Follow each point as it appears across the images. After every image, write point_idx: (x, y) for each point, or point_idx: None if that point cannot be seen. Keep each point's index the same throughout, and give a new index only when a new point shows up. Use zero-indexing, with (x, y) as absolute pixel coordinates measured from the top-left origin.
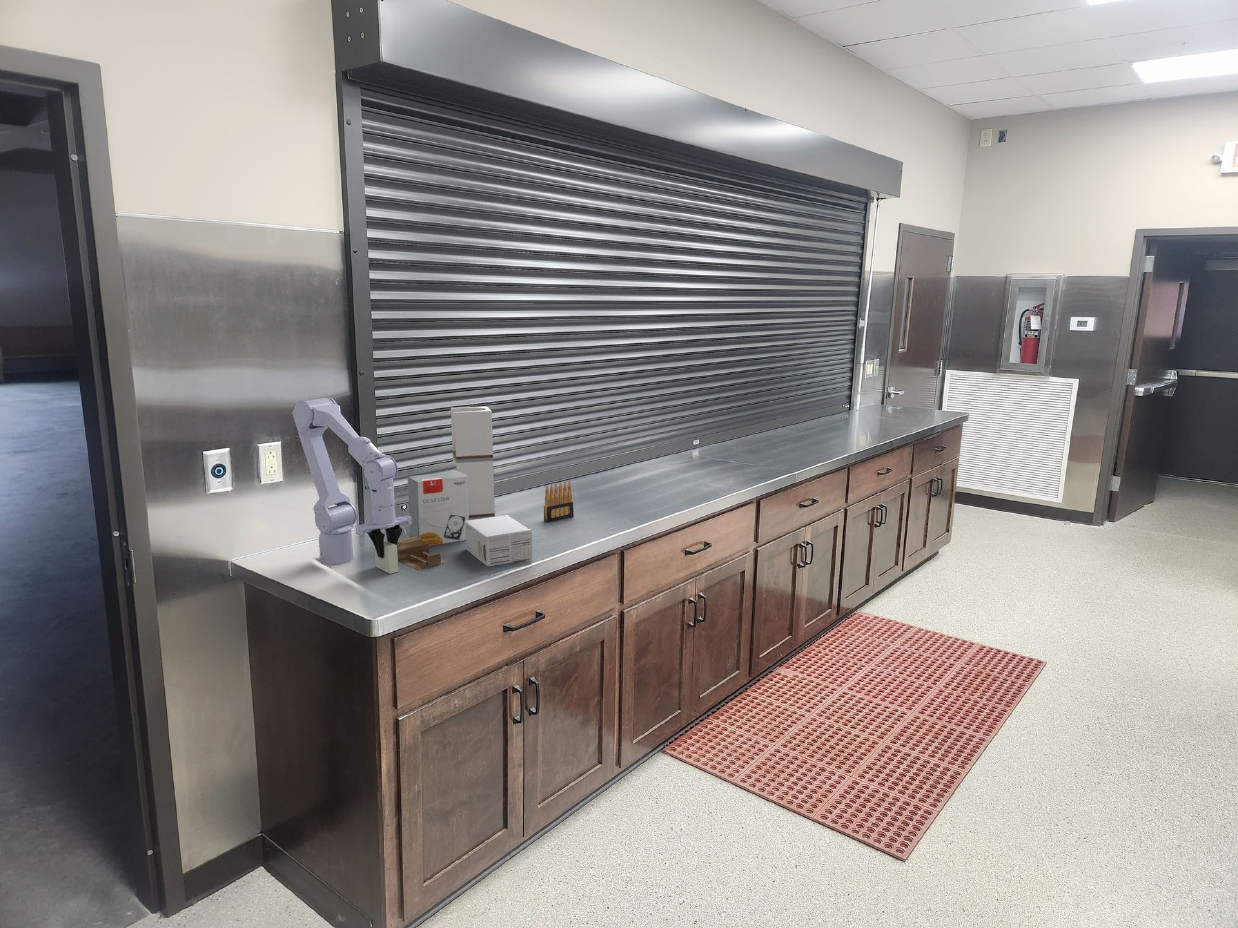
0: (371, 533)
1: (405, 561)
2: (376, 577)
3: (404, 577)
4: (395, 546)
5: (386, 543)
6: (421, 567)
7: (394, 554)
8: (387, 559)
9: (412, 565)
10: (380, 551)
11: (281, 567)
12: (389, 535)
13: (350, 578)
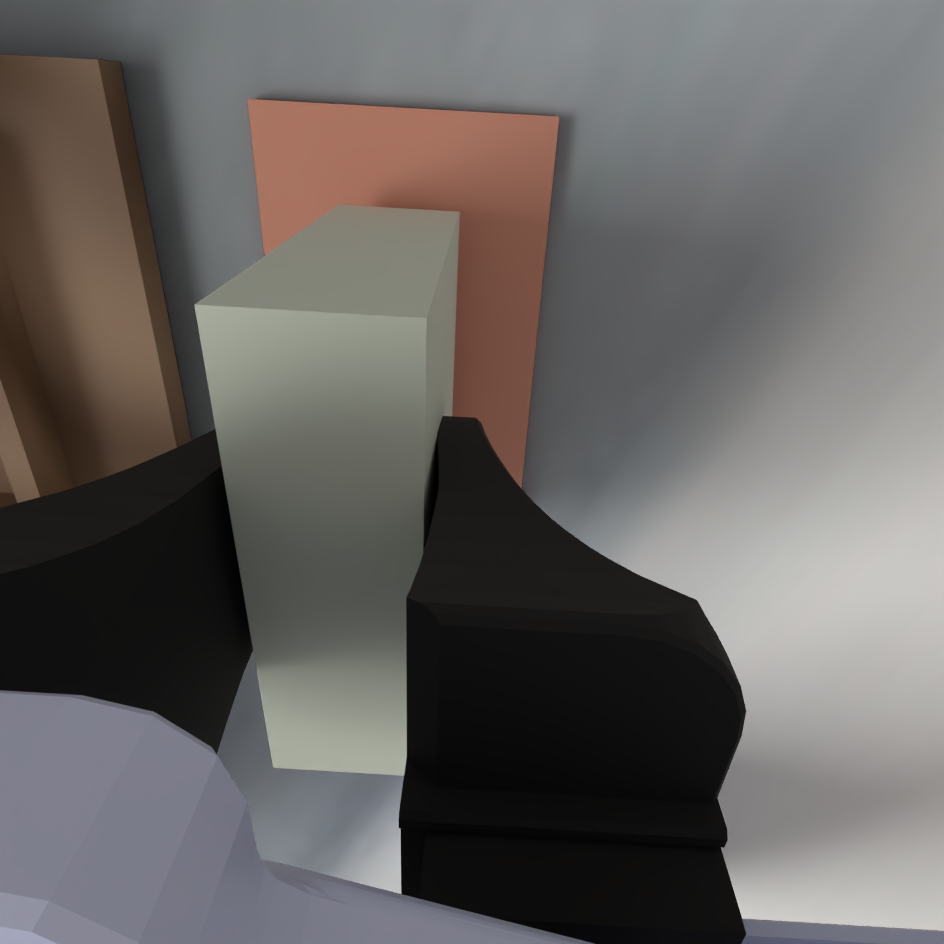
0: (705, 850)
1: (134, 464)
2: (570, 318)
3: (329, 50)
4: (239, 300)
5: (325, 563)
6: (21, 135)
7: (323, 258)
8: (447, 299)
9: (105, 298)
10: (499, 460)
11: (850, 913)
12: (177, 699)
13: (751, 476)
